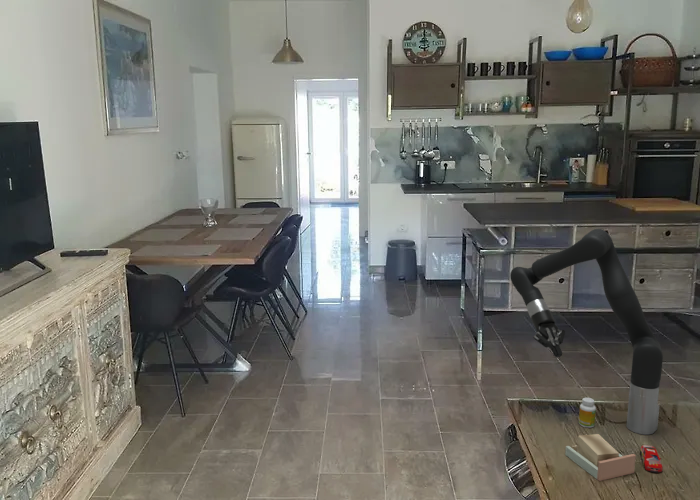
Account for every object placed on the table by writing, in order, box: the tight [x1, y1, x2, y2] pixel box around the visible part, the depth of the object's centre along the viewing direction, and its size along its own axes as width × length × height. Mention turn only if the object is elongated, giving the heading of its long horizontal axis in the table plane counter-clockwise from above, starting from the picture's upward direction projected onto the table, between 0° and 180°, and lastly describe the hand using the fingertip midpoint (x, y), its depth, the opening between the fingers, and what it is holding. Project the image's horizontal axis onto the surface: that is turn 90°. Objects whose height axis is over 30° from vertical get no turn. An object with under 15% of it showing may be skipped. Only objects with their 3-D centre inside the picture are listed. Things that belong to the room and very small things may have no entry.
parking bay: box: [564, 445, 637, 482], centre depth 192 cm, size 13×16×6 cm
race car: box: [639, 444, 664, 473], centre depth 193 cm, size 13×5×4 cm, turn 161°
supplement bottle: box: [578, 397, 597, 429], centre depth 217 cm, size 5×5×10 cm
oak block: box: [576, 433, 620, 467], centre depth 192 cm, size 7×12×7 cm, turn 7°
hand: (559, 356), depth 214 cm, fingers closed
